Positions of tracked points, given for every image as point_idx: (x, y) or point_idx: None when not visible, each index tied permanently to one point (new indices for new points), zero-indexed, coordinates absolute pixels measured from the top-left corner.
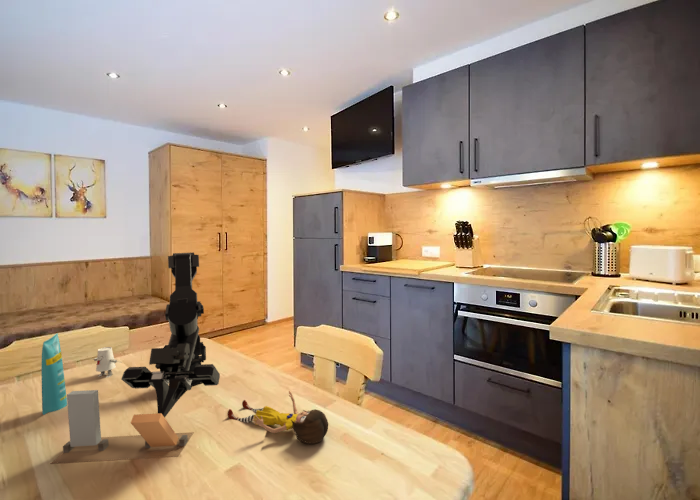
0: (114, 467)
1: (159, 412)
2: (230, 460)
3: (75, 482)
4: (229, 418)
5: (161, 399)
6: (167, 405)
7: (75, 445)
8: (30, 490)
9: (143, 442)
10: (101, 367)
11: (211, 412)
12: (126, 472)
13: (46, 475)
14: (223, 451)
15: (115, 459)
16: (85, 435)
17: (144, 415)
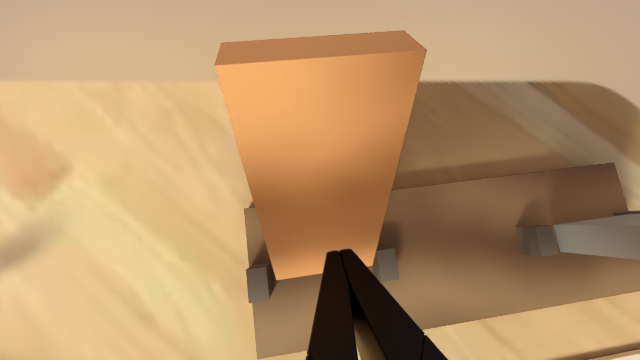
0: (427, 176)
1: (353, 265)
2: (67, 219)
3: (482, 119)
4: None
5: (390, 345)
6: (317, 310)
7: (619, 215)
8: (563, 93)
9: (415, 278)
10: None
11: None
12: None
13: (580, 142)
14: (108, 266)
15: (441, 185)
16: (628, 219)
17: (342, 49)
